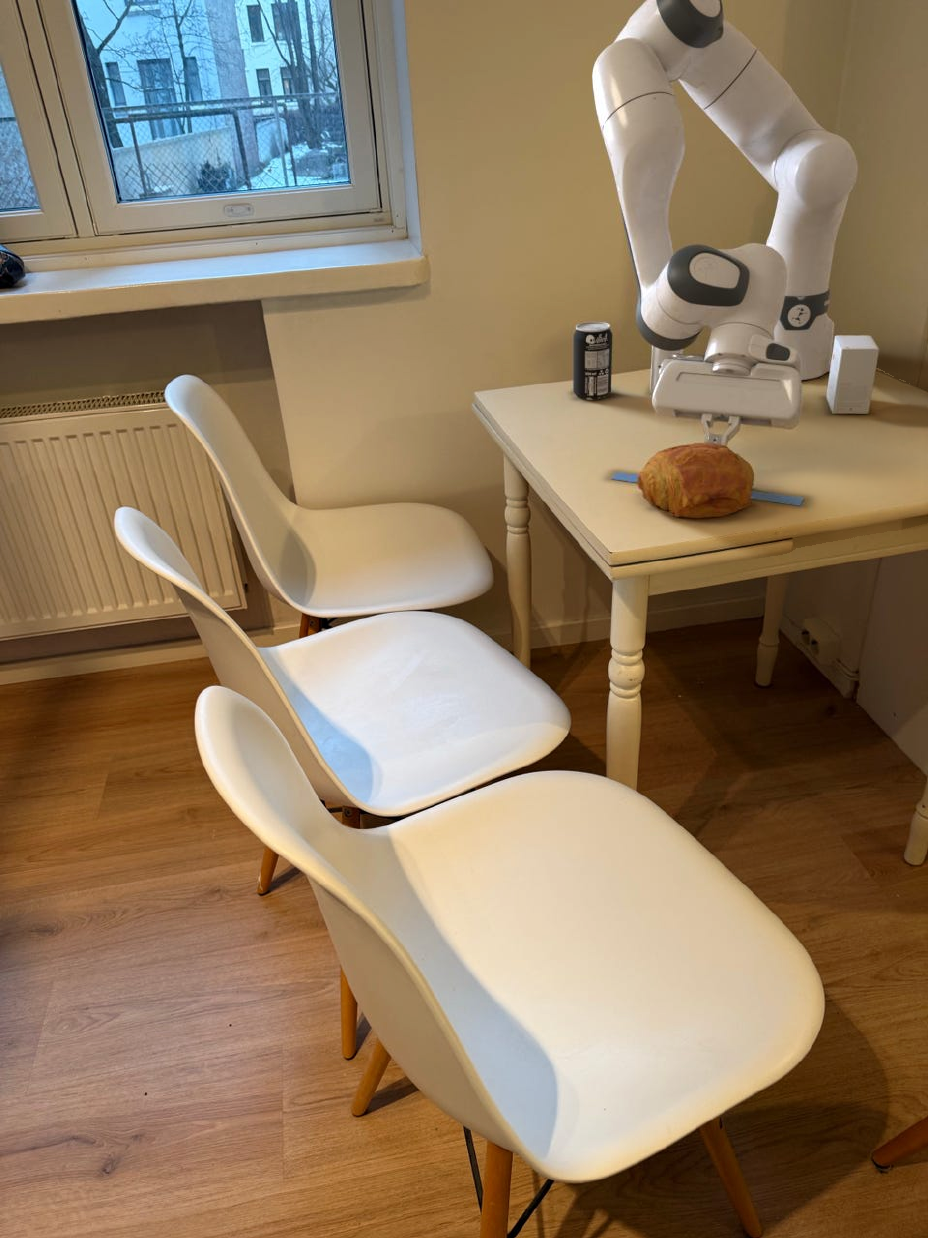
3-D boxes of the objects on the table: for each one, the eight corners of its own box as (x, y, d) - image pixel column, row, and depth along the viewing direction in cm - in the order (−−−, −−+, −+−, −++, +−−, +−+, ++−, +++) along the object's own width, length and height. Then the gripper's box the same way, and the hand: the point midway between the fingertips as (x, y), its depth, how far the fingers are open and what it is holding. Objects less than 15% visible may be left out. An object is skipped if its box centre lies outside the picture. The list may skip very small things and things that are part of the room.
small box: (868, 414, 149) (880, 348, 143) (831, 414, 150) (841, 348, 144) (860, 398, 156) (871, 334, 150) (825, 397, 157) (835, 334, 151)
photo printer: (672, 397, 161) (676, 324, 155) (647, 395, 163) (650, 323, 156) (683, 379, 169) (687, 309, 163) (659, 377, 171) (663, 308, 164)
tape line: (617, 472, 135) (617, 472, 135) (803, 498, 125) (803, 497, 125) (611, 479, 134) (611, 478, 133) (800, 505, 123) (800, 505, 123)
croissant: (633, 494, 133) (627, 442, 129) (743, 473, 132) (740, 419, 128) (652, 538, 121) (646, 482, 117) (774, 515, 120) (772, 457, 116)
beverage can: (584, 386, 169) (585, 319, 162) (617, 391, 165) (619, 323, 159) (566, 397, 164) (566, 328, 158) (599, 403, 161) (600, 332, 155)
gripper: (661, 341, 133) (637, 430, 131) (811, 351, 125) (788, 447, 123) (668, 363, 139) (645, 449, 137) (812, 374, 130) (790, 466, 128)
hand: (714, 448), depth 129 cm, fingers closed
